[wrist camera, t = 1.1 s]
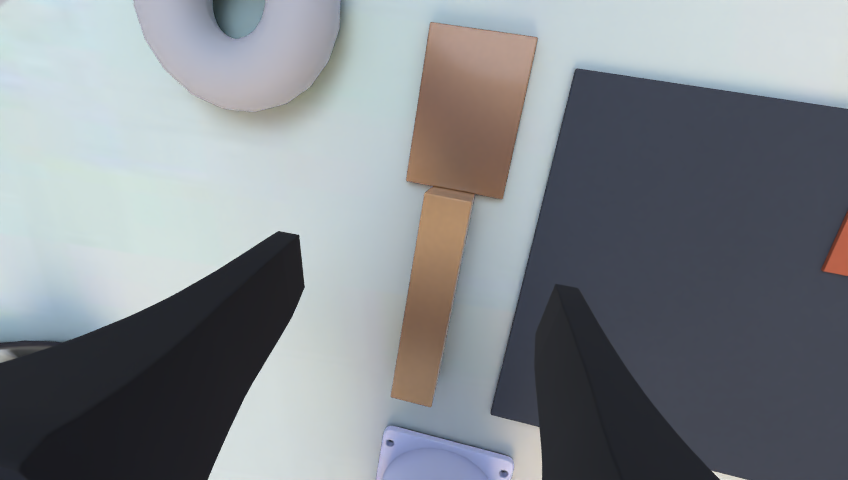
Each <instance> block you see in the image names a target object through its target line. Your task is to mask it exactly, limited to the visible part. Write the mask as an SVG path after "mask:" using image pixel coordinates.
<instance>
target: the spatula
mask: <svg viewBox="0 0 848 480" xmlns="http://www.w3.org/2000/svg"><path fill="white" fill-rule="evenodd" d="M537 40H538V38H537V37H532V36H525V35H518V34H511V33H504V32H497V31H490V30H483V29H476V28H469V27H462V26H455V25H448V24H441V23H434V22H431V23H430V27H429V33H428V40H427V46H426V53H425V60H424V66H423V73H422V79H421V86H420V92H419V99H418V105H417V112H416V118H415V125H414V131H413V138H412V145H411V151H410V158H409V164H408V171H407V177H406V181H409V182H414V183H419V184H425V185H430V186H433V187H431V188H430V189H429V190H428V191H427V192H425V194H424V199H423V205H422V211H421V217H420V223H419V229H418V235H417V241H416V247H415V253H414V259H413V265H412V271H411V277H410V283H409V289H408V295H407V301H406V307H405V313H404V319H403V325H402V331H401V337H400V343H399V349H398V355H397V361H396V367H395V373H394V379H393V385H392V391H391V397H392V398H396V399H400V400H404V401H408V402H412V403H416V404H420V405H424V406H428V407H431V406H432V402H433V398H434V393H435V389H436V385H437V381H438V377H439V372H440V367H441V362H442V357H443V352H444V347H445V342H446V337H447V332H448V327H449V322H450V317H451V312H452V307H453V302H454V297H455V292H456V287H457V282H458V277H459V272H460V267H461V262H462V257H463V252H464V247H465V242H466V237H467V232H468V227H469V222H470V217H471V212H472V208H473V203H474V198H475V194H477V195H482V196H488V197H493V198H498V199H502V198H503V195H504V191H505V186H506V182H507V177H508V172H509V168H510V163H511V159H512V154H513V150H514V145H515V141H516V136H517V131H518V127H519V122H520V118H521V113H522V109H523V104H524V100H525V95H526V90H527V86H528V81H529V77H530V72H531V68H532V63H533V59H534V54H535V49H536V45H537Z"/></svg>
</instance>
